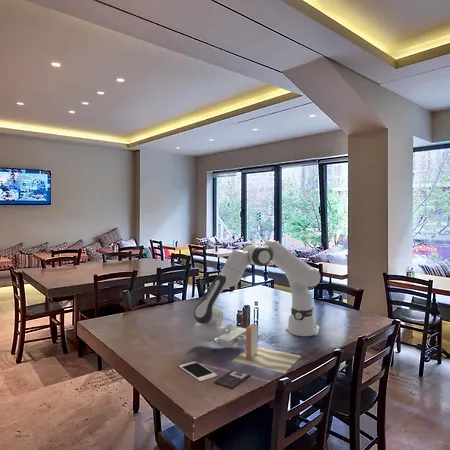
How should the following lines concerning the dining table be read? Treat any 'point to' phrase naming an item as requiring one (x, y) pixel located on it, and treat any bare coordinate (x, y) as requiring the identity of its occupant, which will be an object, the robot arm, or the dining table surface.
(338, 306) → the dining table surface
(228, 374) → the chocolate bar
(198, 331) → the robot arm
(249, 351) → the tile
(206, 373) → the cell phone
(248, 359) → the board
